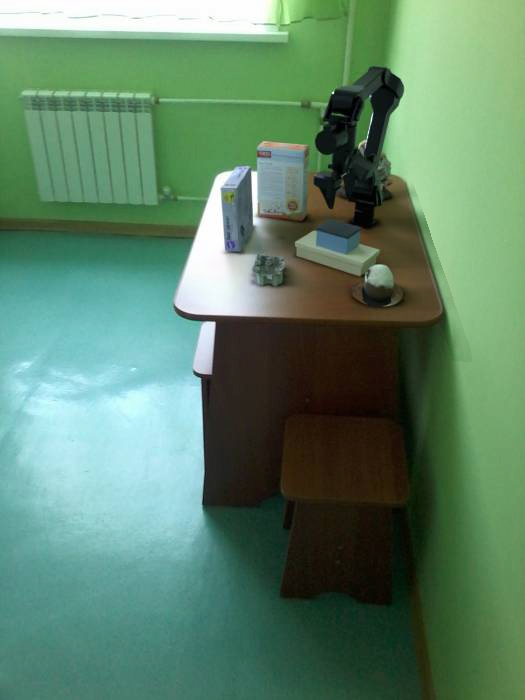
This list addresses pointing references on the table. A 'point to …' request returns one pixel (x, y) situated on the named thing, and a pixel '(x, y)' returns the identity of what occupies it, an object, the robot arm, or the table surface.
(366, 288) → the egg in cup
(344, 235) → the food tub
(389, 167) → the owl figurine
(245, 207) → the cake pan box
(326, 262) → the cream lidded box
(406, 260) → the table surface
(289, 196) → the cracker box
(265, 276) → the egg carton
